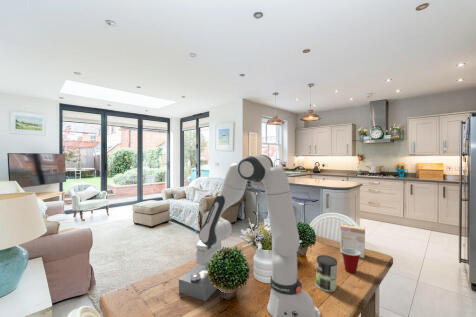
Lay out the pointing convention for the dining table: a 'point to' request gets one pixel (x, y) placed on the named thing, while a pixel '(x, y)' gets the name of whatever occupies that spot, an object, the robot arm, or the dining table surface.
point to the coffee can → (326, 273)
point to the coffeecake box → (353, 238)
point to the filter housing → (196, 285)
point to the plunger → (195, 277)
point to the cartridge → (204, 273)
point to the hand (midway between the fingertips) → (209, 265)
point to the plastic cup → (350, 259)
